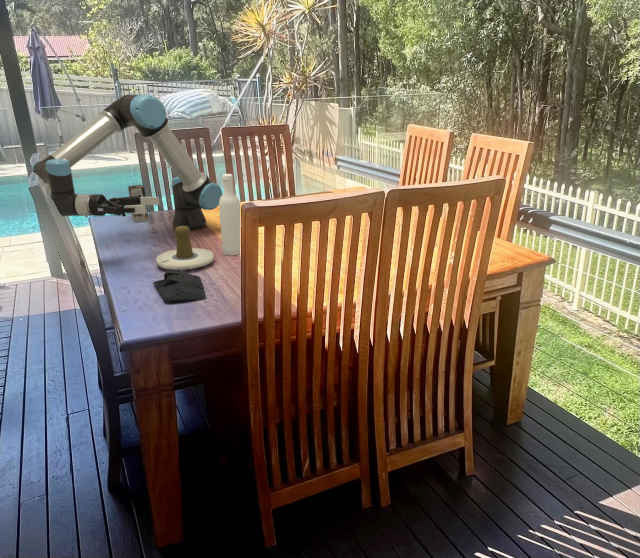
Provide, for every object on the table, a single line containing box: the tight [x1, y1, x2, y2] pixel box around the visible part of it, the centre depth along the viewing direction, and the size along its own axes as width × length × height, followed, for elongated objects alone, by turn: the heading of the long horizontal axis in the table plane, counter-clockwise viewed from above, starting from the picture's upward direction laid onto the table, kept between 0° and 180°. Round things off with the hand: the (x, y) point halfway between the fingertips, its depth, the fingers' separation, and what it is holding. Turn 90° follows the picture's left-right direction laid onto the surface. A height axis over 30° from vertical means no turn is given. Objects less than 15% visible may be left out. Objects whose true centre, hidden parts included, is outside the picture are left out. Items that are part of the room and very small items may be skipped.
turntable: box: [155, 247, 215, 270], centre depth 189 cm, size 20×20×2 cm
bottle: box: [218, 173, 241, 256], centre depth 197 cm, size 8×8×30 cm
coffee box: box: [127, 184, 149, 223], centre depth 248 cm, size 9×6×16 cm
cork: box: [174, 226, 194, 259], centre depth 187 cm, size 6×6×11 cm
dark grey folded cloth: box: [153, 269, 207, 303], centre depth 166 cm, size 15×22×5 cm
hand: (152, 205), depth 182 cm, fingers open, 13 cm apart
